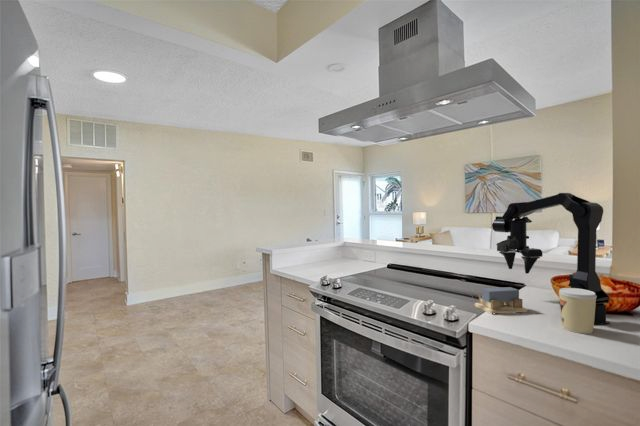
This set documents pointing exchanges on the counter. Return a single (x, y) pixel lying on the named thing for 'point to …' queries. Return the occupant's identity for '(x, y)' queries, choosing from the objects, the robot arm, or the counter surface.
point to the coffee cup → (577, 309)
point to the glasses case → (500, 294)
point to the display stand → (501, 306)
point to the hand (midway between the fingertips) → (518, 271)
